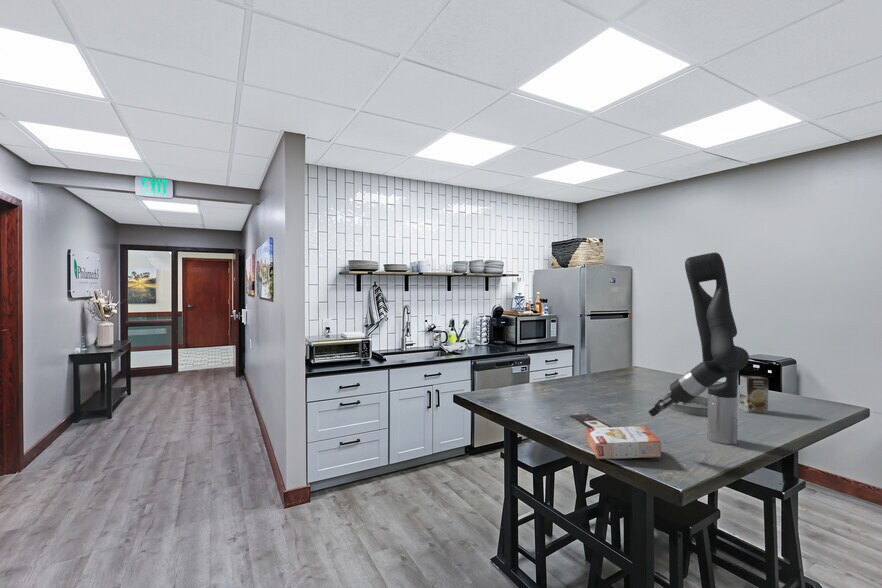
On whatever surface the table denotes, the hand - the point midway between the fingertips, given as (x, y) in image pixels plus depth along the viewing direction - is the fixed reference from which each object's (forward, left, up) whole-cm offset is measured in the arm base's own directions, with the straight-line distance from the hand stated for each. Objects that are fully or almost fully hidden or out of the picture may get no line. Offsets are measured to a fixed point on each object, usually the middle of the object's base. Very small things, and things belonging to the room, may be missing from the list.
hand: (651, 414), depth 148 cm
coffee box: (-37, -78, -13) cm, 87 cm away
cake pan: (-12, -67, -13) cm, 69 cm away
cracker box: (-1, +4, -8) cm, 9 cm away
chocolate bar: (+25, -20, -13) cm, 35 cm away
